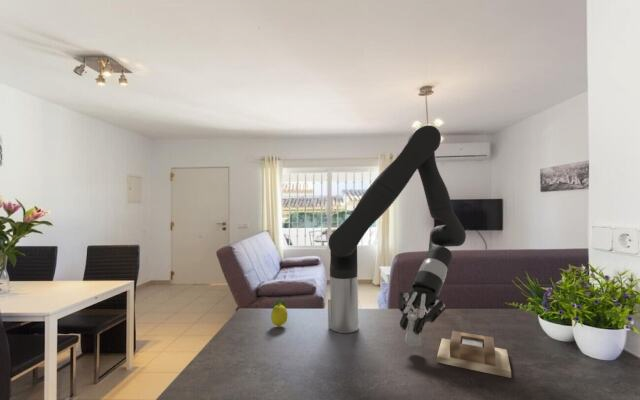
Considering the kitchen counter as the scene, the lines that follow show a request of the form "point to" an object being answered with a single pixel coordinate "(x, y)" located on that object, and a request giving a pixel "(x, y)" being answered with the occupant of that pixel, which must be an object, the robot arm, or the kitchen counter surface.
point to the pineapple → (279, 314)
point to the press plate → (472, 342)
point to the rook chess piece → (411, 337)
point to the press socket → (474, 354)
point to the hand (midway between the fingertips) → (409, 330)
